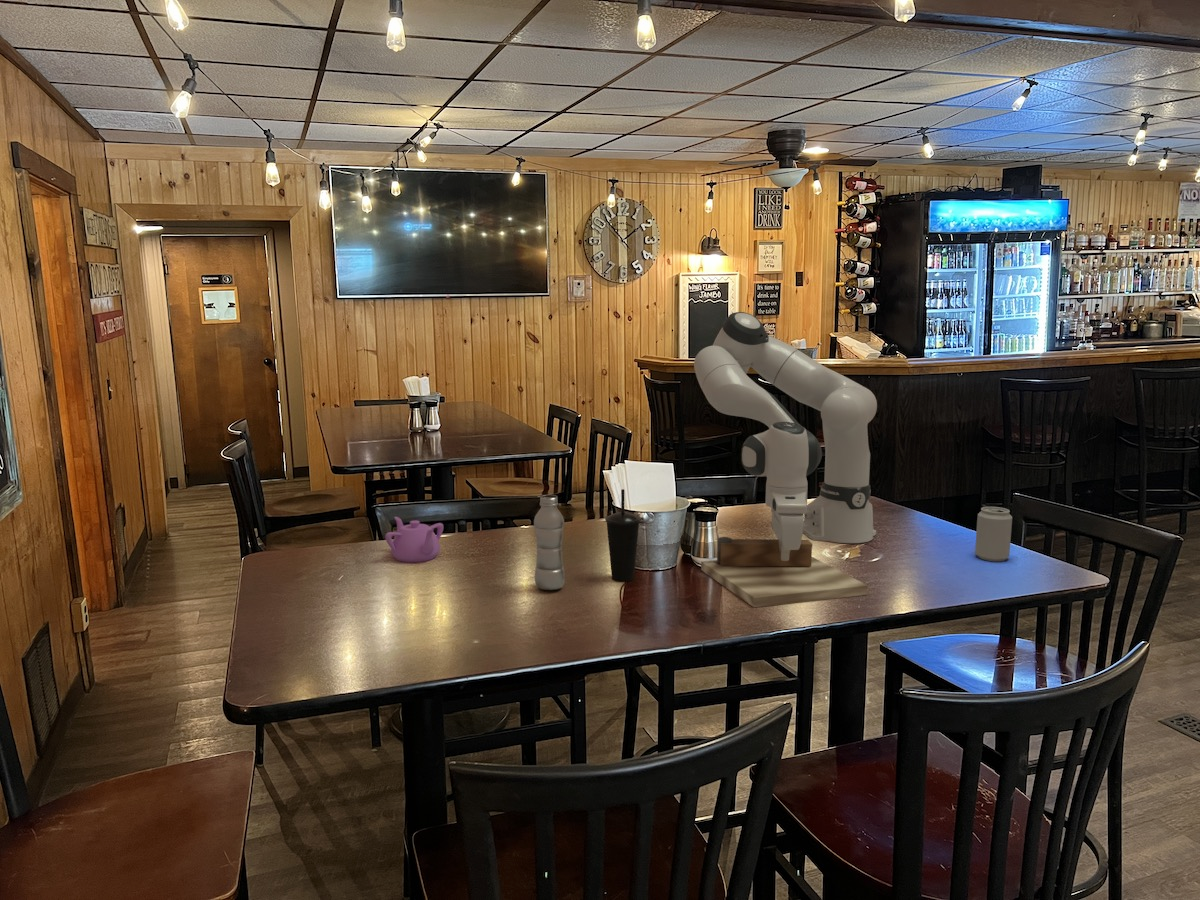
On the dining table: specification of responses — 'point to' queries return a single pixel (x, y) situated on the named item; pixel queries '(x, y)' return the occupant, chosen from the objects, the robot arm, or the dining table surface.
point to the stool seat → (784, 582)
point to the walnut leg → (760, 553)
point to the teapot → (414, 541)
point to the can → (993, 534)
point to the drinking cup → (622, 543)
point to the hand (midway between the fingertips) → (784, 559)
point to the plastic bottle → (549, 544)
